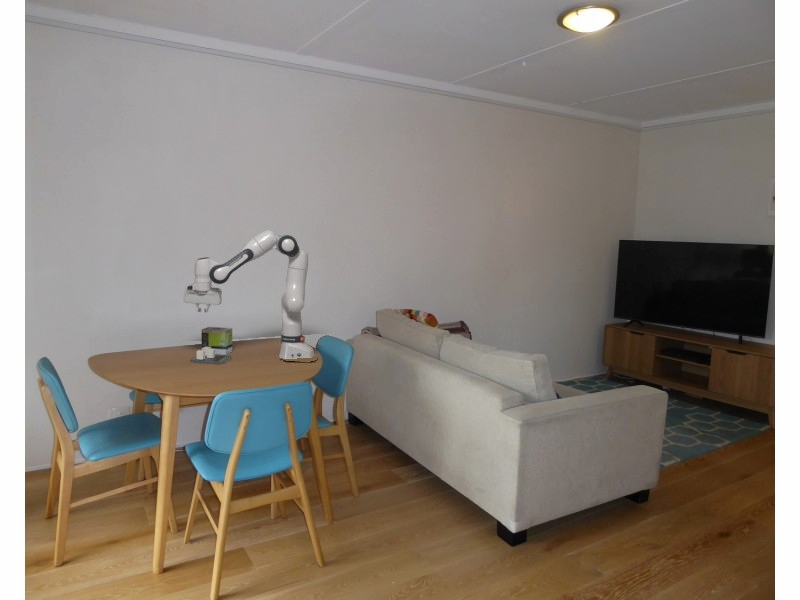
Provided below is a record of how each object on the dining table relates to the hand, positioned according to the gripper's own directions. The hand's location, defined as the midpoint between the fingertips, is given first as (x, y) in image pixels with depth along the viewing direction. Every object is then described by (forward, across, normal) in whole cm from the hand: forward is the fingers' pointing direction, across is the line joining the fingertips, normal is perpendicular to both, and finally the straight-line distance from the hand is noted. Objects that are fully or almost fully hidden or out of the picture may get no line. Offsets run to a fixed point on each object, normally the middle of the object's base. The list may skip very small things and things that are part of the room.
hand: (202, 311), depth 304 cm
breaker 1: (+25, -1, +5) cm, 26 cm away
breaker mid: (+25, -5, 0) cm, 26 cm away
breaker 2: (+25, -1, -4) cm, 26 cm away
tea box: (+27, -1, -19) cm, 33 cm away
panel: (+27, -5, 0) cm, 28 cm away
